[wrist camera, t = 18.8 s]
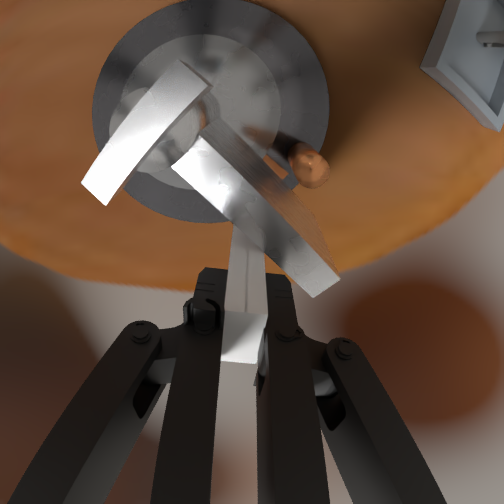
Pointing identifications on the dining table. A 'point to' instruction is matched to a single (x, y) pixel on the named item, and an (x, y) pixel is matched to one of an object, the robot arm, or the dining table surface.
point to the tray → (469, 58)
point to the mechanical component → (491, 38)
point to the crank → (214, 147)
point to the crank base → (278, 62)
